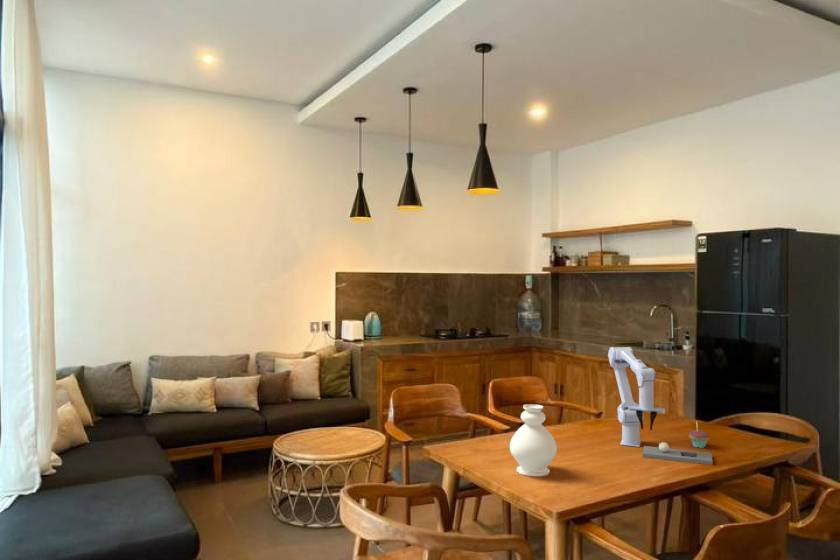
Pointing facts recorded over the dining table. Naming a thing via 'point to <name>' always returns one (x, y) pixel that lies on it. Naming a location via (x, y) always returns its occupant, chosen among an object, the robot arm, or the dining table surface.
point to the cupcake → (699, 437)
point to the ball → (663, 447)
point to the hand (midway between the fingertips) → (646, 429)
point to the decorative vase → (533, 443)
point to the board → (678, 455)
